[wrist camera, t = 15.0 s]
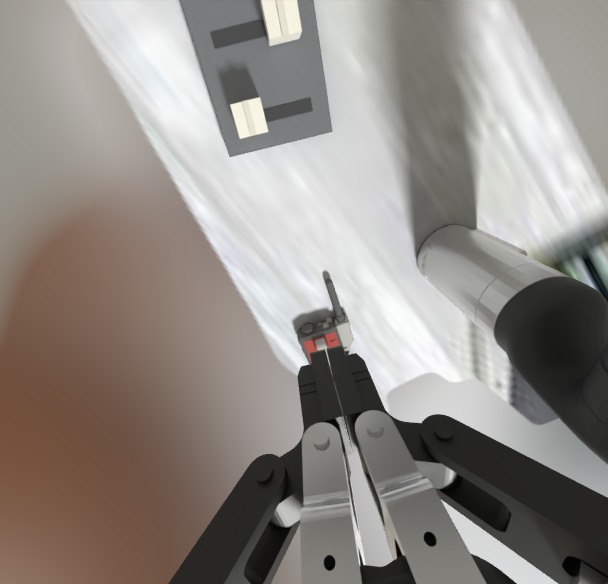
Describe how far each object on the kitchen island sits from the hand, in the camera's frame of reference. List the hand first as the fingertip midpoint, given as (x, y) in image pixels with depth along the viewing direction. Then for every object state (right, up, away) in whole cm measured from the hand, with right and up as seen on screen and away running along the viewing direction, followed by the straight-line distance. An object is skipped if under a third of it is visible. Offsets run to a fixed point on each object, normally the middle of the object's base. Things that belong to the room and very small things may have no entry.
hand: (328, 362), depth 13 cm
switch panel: (-6, +29, +16) cm, 34 cm away
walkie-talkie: (+2, -3, +36) cm, 36 cm away
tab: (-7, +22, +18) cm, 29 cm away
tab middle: (-3, +29, +14) cm, 32 cm away
